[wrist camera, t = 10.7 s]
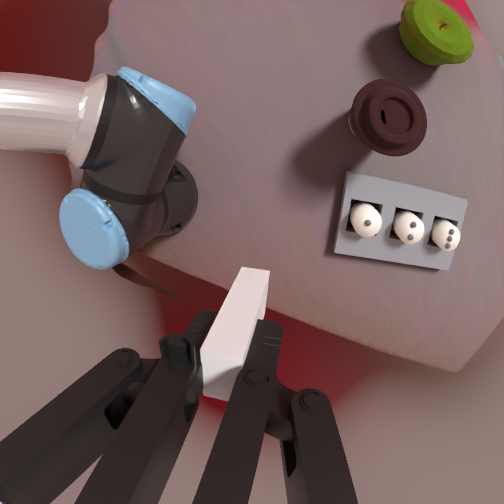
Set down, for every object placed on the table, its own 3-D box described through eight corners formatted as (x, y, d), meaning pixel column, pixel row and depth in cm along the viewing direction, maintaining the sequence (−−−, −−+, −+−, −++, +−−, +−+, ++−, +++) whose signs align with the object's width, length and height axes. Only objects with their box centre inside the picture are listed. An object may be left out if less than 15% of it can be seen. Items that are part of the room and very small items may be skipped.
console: (333, 247, 49) (334, 252, 47) (345, 170, 43) (348, 172, 41) (443, 265, 46) (448, 270, 43) (462, 197, 40) (468, 200, 38)
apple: (460, 55, 29) (491, 42, 19) (426, 84, 34) (455, 73, 24) (414, 5, 27) (435, -19, 17) (377, 31, 32) (393, 6, 22)
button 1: (347, 226, 46) (350, 235, 42) (351, 199, 44) (356, 205, 40) (372, 230, 46) (378, 239, 41) (378, 204, 44) (385, 211, 39)
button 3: (426, 240, 44) (435, 250, 40) (432, 215, 42) (443, 223, 38) (446, 244, 43) (456, 253, 39) (452, 220, 41) (463, 228, 37)
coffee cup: (404, 112, 37) (442, 104, 24) (383, 161, 41) (414, 172, 28) (352, 84, 37) (372, 61, 24) (331, 134, 42) (342, 132, 28)
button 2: (389, 233, 45) (396, 242, 41) (394, 207, 43) (402, 214, 39) (411, 237, 44) (420, 247, 40) (418, 212, 42) (427, 219, 38)
